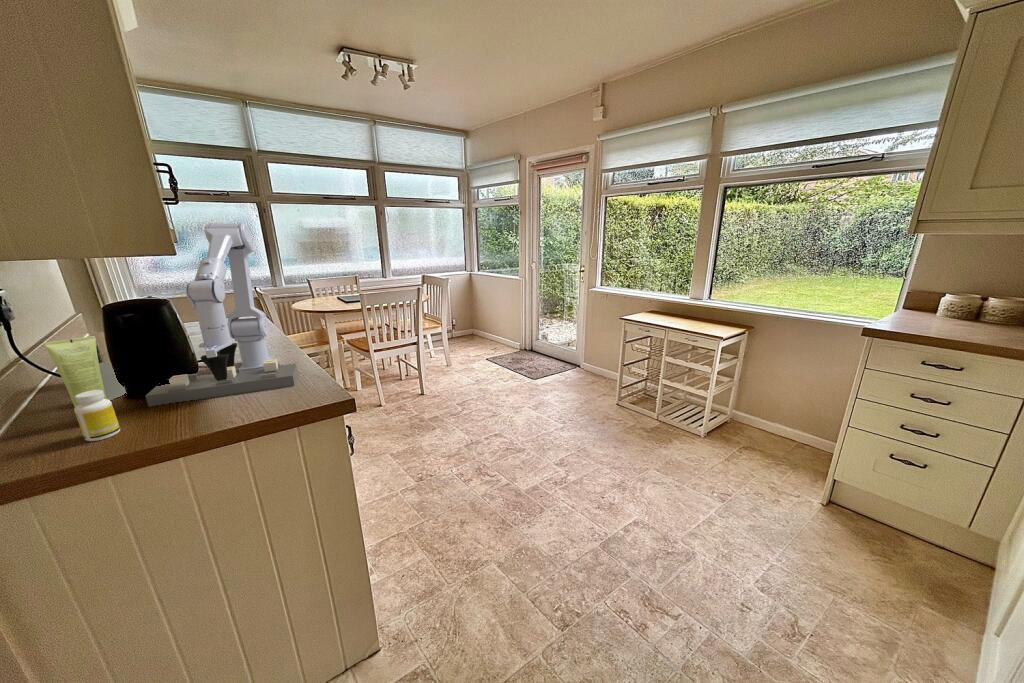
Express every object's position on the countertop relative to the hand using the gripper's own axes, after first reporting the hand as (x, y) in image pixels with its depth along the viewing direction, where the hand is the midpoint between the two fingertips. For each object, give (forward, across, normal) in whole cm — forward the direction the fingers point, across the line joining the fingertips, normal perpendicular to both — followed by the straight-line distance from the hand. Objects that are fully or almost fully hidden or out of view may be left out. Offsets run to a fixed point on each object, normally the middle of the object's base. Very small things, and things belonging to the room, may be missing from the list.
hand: (225, 375), depth 102 cm
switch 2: (+1, -4, +10) cm, 11 cm away
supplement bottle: (+5, +17, -19) cm, 26 cm away
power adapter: (+5, -7, -27) cm, 28 cm away
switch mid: (+1, -2, 0) cm, 2 cm away
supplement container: (+5, -24, -38) cm, 45 cm away
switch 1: (+1, 0, -10) cm, 10 cm away
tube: (+5, +7, -24) cm, 25 cm away
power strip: (+4, -2, 0) cm, 5 cm away
